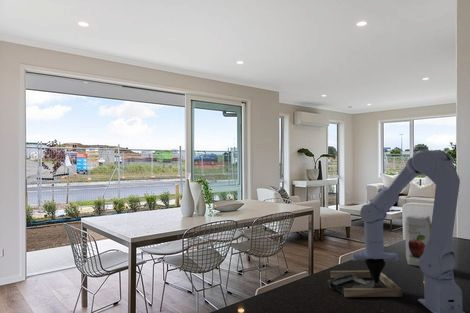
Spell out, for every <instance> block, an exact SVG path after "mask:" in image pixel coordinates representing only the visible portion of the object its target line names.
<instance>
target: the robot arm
mask: <svg viewBox="0 0 470 313" xmlns="http://www.w3.org/2000/svg"><path fill="white" fill-rule="evenodd" d="M453 160H454V159H453V157H451V156H450V155H449V154H448V153H447V152H445V151H444V150H442V149H441V150H440V149H435V150H428V149H427V150H426V149H422V150H421V149H419V150H417V151H416V152H414V153H413V154H412V157H410V158H409V159H407V162H406V164H405V166H404V167H403V168H402V170H400V172H399V173H398V174H397V175H396V177H395V178H394V180H393V181H392V182H391V184H390V185H389V186H384V187H382V188H379V189H377V192H378V193H377V194H376V195H375V197H373V199H370V200H369V203H367V204H363V205H362V206H361V208H360V212H359V213H360V214H359V215H360V217H361V219H362V220H363V222H364V224H363V225H364V226H363V227H364V229H363V230H364V251H361V252H355V253H353V252H352V253H350V255H351V256H350V257H351V260H352V261H354V262H357V261H364V263H365V264H366V266H367V268H368V270H369V271H370V274H371V278H370V279H371V282H372V281H373V280H374V283H375V284H379V283H380V282H379V281H380V280H379V277H380V274H381V272H383V269H384V268H385V266H386V262H385V261H390V260H391V261H399V255H398V254H397V253H396V252H388V251H387V252H385V250H384V245H385V244H384V221H385V219H386V217H387V216H388V215H387V214H388V212H389V210H391V209H392V207H393V206H394V205H395V204H396V203H397V202H398V201H399V199H400V196H399V194H400V193H401V192H402V191H403V190H404V189H405V188H406V187H407V186H408V185H409V184H410V183H411V182H413V180H414V179H415V178H417V177H418V176H422V175H423V176H425V177H428V178H429V180H431V181H432V182H433V184H435V190H434V191H435V192H434V201H433V208H432V209H433V210H432V216H431V230H430V238H429V241H428V243H427V244H426V246H425V247H424V252H423V254H422V256H421V257H420V258H419V266H418V267H419V268H420V270H421V272H422V273H423V289H424V291H423V292H424V293H423V294H424V298H418V300H417V301H418V303H420V304H422V305H423V306H424V307H425V308H426V309H427V310H429V311H430V312H431V313H466V312H465V311H463V310H464V308H463V307H464V306H463V290H462V288H461V287H460V286H459V285H458V284H457V283H456V280H455V277H454V276H455V275H454V270H455V269H456V268H457V266H458V259H457V258H458V257H457V256H456V247H455V245H454V244H453V238H454V228H455V221H456V214H457V206H458V197H459V191H460V184H461V182H460V180H461V179H460V176H459V175H458V172H457V171H456V168H455V166H454V161H453Z"/></svg>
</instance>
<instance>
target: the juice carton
mask: <svg viewBox="0 0 470 313" xmlns="http://www.w3.org/2000/svg"><path fill="white" fill-rule="evenodd" d="M431 223H432V220H431V217H430V215H417V214H408V215H407V216H406V217H405V222H404V227H405V229H404V233H405V256H406V257H405V259H406V262H407V265H409V266H414V267H415V266H416V267H420V266H419V258H420V257H421V256H422V254H423V252H424V247H425V246H426V244H427V243H428V241H429V238H430V230H431Z"/></svg>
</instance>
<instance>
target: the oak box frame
mask: <svg viewBox="0 0 470 313" xmlns="http://www.w3.org/2000/svg"><path fill="white" fill-rule="evenodd" d="M351 273H352V275H354V276H356V277H357V278H358V279H372V278H371V274H370V271H369V269H368V270H366V269H365V270H330V278H331V279H335V278H337V277H343V276H345V275H348V274H351ZM379 281H380V282H382V283H383V285H385V286H386V287H373V288H352V287H349V288H347V287H344V294H343V296H344V297H345V298H370V297H371V298H377V297H380V298H382V297H383V298H385V297H386V298H389V297H390V298H392V297H393V298H394V297H395V298H396V297H397V298H398V297H403V295H404V294H403V288H402V287H400V285H398V284H396V282H394V281H393V280H392V279H391V278H389V277H388V276H387V275H385V274H384V273H383V271H381V274H380V277H379Z"/></svg>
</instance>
